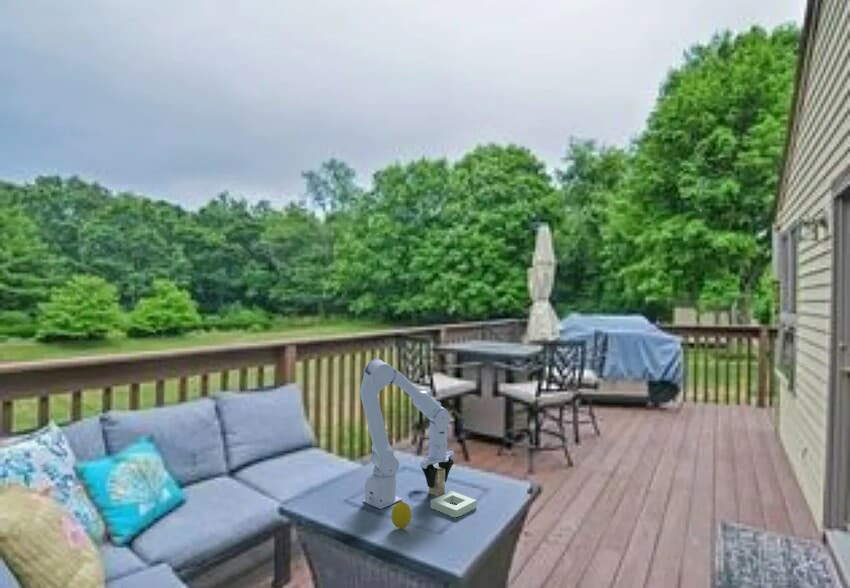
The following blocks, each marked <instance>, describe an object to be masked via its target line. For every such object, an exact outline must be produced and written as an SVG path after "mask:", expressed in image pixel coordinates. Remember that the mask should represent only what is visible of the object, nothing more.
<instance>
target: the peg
mask: <svg viewBox="0 0 850 588" xmlns="http://www.w3.org/2000/svg"><path fill="white" fill-rule="evenodd" d="M434 467H435V468H438V470H437V472H436V476H435V484H434V488H431V487H428V494H430V493H431V494H430V495H433V494H434V495H433V496H435V495H437V496H436V497H439V496H441V495H443V493H444V494H445V491H446V489H445V487H446V482H445V469H444V468H441V467H439V465H436V466H434ZM440 494H441V495H440ZM438 495H439V496H438Z"/></svg>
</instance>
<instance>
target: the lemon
mask: <svg viewBox="0 0 850 588" xmlns="http://www.w3.org/2000/svg"><path fill="white" fill-rule="evenodd" d="M394 504H395V505H394V506H393V507H392V511H391V521H392V524H393V525H394V526H395V527H396V528H398V529H400V530H403V529H404V528H406V527H408V526H409V525H410V523H411V520H412V511H411V507H410V505H408V503H406V502H404V501H402V500H400V501H398V502H396V503H394Z"/></svg>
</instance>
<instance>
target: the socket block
mask: <svg viewBox="0 0 850 588" xmlns="http://www.w3.org/2000/svg"><path fill="white" fill-rule="evenodd" d="M477 501H478V500H477V499H474V498H472V497H469V496H466V495H464V494H462V493H459V492H455V491H453V490H449V491H447V492H446V493H444V494H441V495H439V496H436V497H435V498H433V499H430V509H431V508H432V509H431V510H434V509H435V510H434V511H436V510H437V511H436V512H439V511H440V512H439V513H441V512H443V513H445V514H444V515H446V514H448V515H451V516H453V517H458V516H460V517H462V516H463V515H462V514H464V515H465V513H466V514H468V513H469V511H470V512H471V510H472V511H473V509H474V510H475V508H476V509H477V505H478V503H477ZM452 502H453V503H452ZM450 503H451V504H450ZM454 503H456V504H457V505H456V504H454ZM467 512H468V513H467ZM443 513H442V514H443ZM448 515H447V516H448ZM461 515H462V516H461ZM451 516H450V517H451ZM453 517H452V518H453ZM458 518H459V517H458Z"/></svg>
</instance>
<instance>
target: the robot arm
mask: <svg viewBox="0 0 850 588" xmlns="http://www.w3.org/2000/svg"><path fill="white" fill-rule="evenodd" d="M388 385H393V386H394V385H395V386H398V387H399V388H400V389H401V390H403V391H404V392H405V393H406V394H407V395H409V397H411V398H412V405H413V406H414V407H415V408H417V410H419V411H420V412H421V413H422V414H423V415H424V416H426V418H427V419H428V420H429V441H428V442H429V443H428V455H427V456H426V457H425V458H424V459H423V460H420V468H421V470H422V471H423V473H424V477H425V480H426V484H427V487H428V488H429V487H431V488H434V484H435V476H436V472H437V470H438V468H435V467H436V466H434V465H435V464H437V466H438V467H441V468H444V469H445V483H447V480H448V477H449V474H450V471H451V469H452V467H453V465H454V461H455V460H453V458H454V457H455V451H454V450H453V451H452V450H448V426H449V424H450V422H451V419H452V416H451V415H450V412H449V410H448V409H446V408H445V407H443V406H442V403H441V402H440V401H437V400H436V399H435V398H434V397H433V396H432V395H433V394H432V392H430V391H428V390H427V391H426V390H419V389H418V388H417V387H416V386H415V385H414V384H413V383H412V382H411V381H410V380H409V379H408V378H407V377H406V376H405V375H404V374H403V373H402V372H401V371H399V370H398V369H396V368H394V367H393V366H392V365H390V364H389V363H386V362H385V361H383V360H382V359H379V358H373V359H372V360H370V361H369V362H368V363H367V364H366V366H365V367H364V368H363V377H362V380H361V385H360V387H359V395H360V399H361V404H362V406H363V411H364V415H365V420H366V422H367V423H366V424H367V428H368V431H369V435H370V439H371V443H372V445H371V459H370V460H371V462H372V464H373V465H374V467H373V471H372V474H371V475H370V476H369V477H367V478H366V480H365V483H364V484H365V485H364V499H363V500H362V501H363V502H364V503H366V504H368V505H370V506H373V507H375V508H378V509H380V510H381V509H384V508H386V507H388V506H391V505H393V504H397V503H399V502H401V501H402V498H401V497H399V496H398V495H397V472H398V470H399V468H400V462H399V459H398V458H397V457H396V456H395V454H394V450H393V448H392V447H391V444H390V442H389V438H388V434H387V430H386V425H385V421H384V417H383V414H382V413H383V412H382V409H381V405H380V402H379V401H380V400H379V397H378V395H379V394H380V392H381V391H382V390H383V389H384V388H386V387H387V386H388Z"/></svg>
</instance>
